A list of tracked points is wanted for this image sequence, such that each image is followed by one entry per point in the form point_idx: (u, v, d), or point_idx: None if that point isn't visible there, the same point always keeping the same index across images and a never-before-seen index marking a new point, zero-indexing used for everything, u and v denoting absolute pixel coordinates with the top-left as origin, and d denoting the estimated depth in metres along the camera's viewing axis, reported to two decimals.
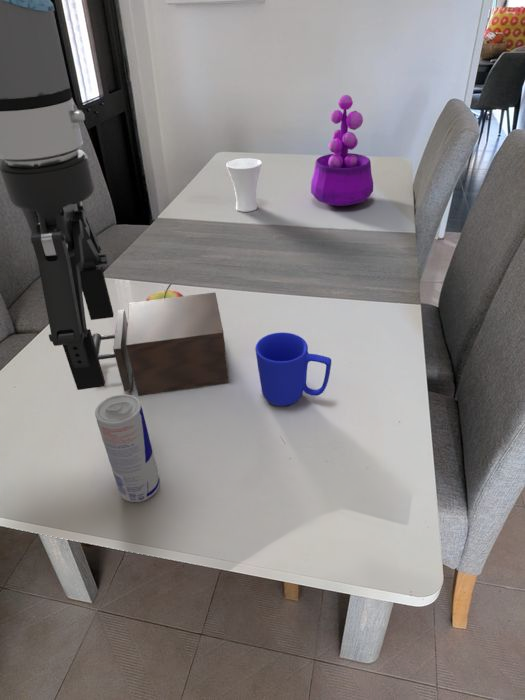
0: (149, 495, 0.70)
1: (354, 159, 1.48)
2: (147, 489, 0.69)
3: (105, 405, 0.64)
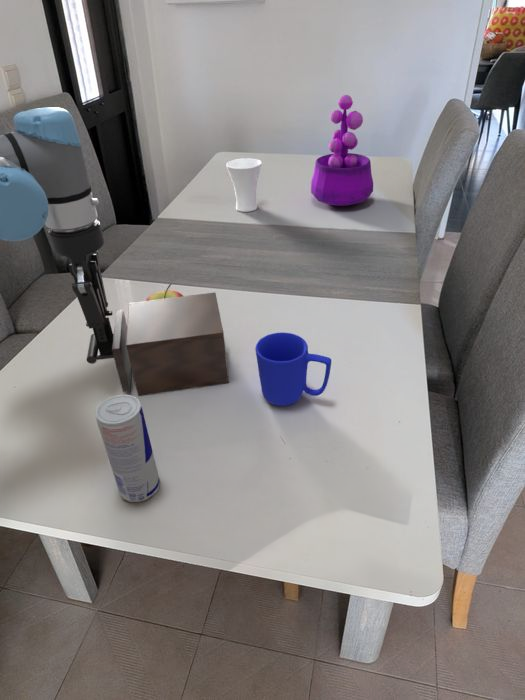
0: (149, 495, 0.70)
1: (354, 159, 1.48)
2: (147, 489, 0.69)
3: (105, 405, 0.64)
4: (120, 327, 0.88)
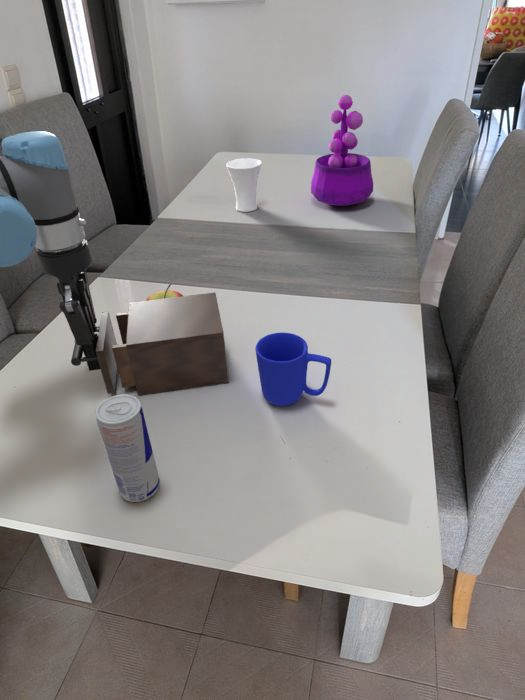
0: (149, 495, 0.70)
1: (354, 159, 1.48)
2: (147, 489, 0.69)
3: (105, 405, 0.64)
4: (105, 329, 0.88)
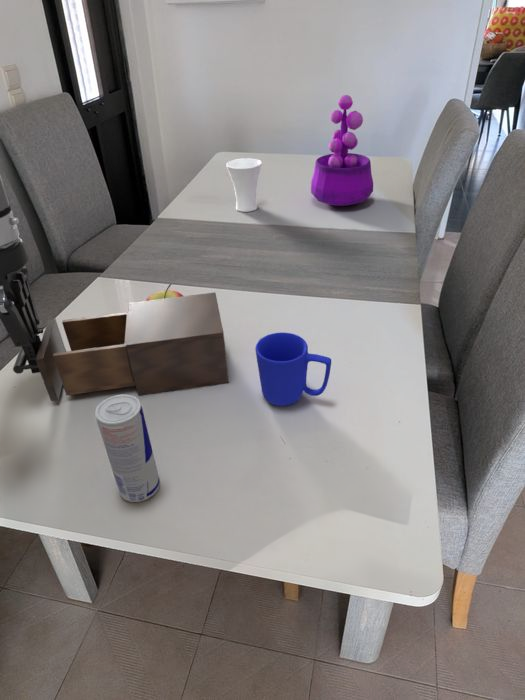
0: (149, 495, 0.70)
1: (354, 159, 1.48)
2: (147, 489, 0.69)
3: (105, 405, 0.64)
4: (48, 336, 0.87)
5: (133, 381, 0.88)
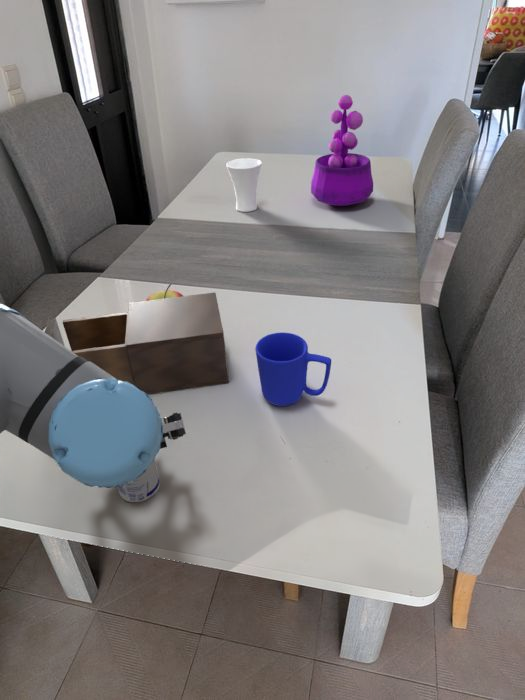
0: (149, 495, 0.70)
1: (354, 159, 1.48)
2: (147, 489, 0.69)
3: None
4: None
5: (133, 381, 0.88)
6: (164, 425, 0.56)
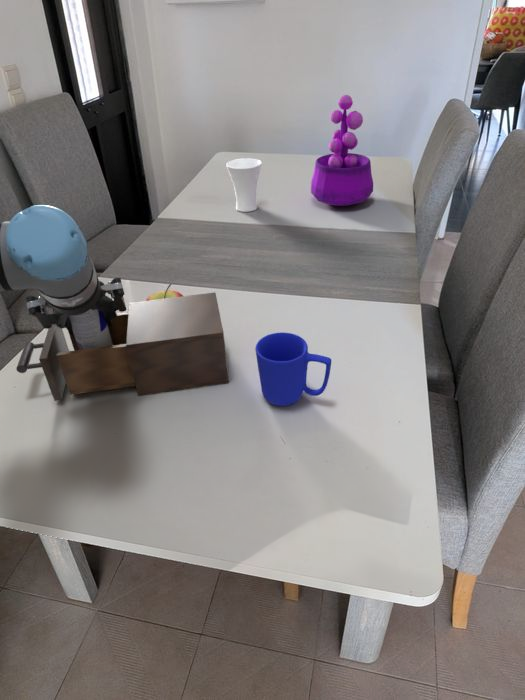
0: None
1: (354, 159, 1.48)
2: None
3: None
4: (52, 336, 0.87)
5: None
6: (107, 285, 0.75)
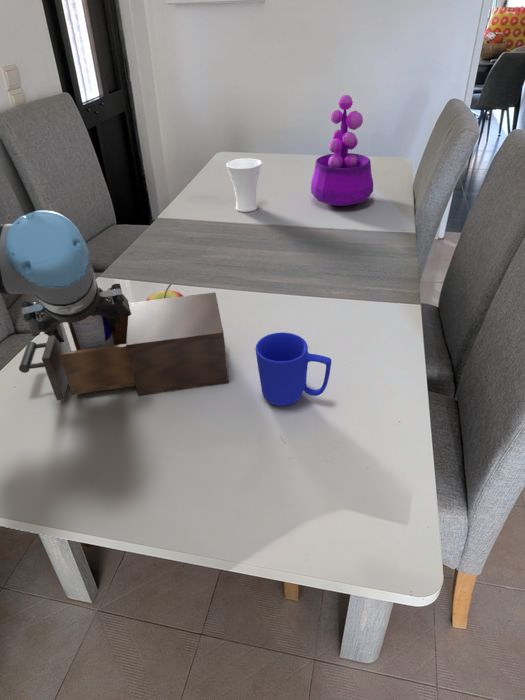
0: None
1: (354, 159, 1.48)
2: None
3: None
4: None
5: None
6: (105, 291, 0.73)
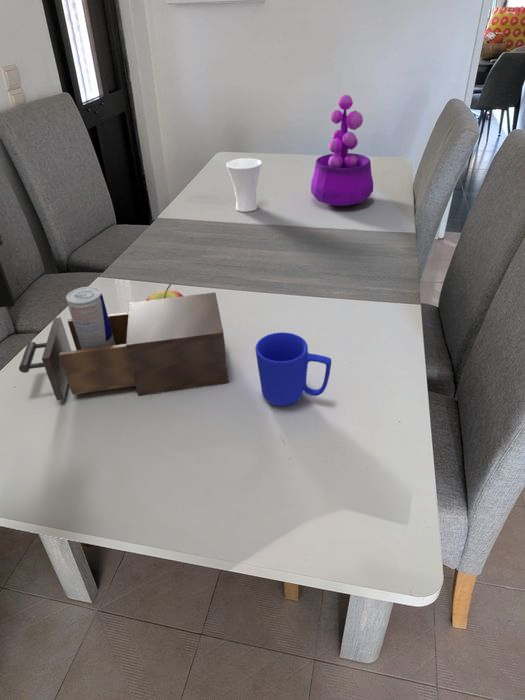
0: None
1: (354, 159, 1.48)
2: None
3: (74, 293, 0.84)
4: (54, 335, 0.87)
5: None
6: None
